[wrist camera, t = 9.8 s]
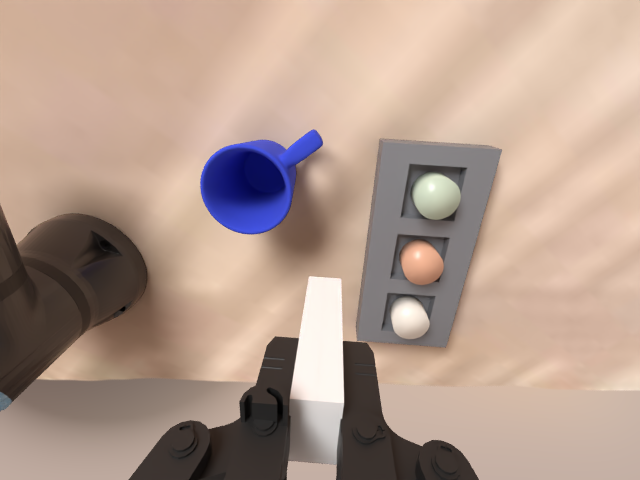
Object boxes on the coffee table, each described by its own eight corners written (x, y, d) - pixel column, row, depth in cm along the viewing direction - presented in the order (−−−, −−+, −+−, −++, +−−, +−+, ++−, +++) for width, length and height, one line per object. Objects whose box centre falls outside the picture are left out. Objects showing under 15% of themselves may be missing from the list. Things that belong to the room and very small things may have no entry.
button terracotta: (396, 270, 39) (400, 283, 37) (402, 238, 38) (407, 249, 35) (432, 273, 39) (439, 286, 36) (439, 240, 37) (447, 251, 35)
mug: (344, 158, 36) (346, 179, 27) (263, 215, 40) (241, 250, 30) (301, 94, 34) (288, 93, 25) (218, 160, 37) (180, 181, 28)
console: (355, 326, 46) (357, 340, 43) (379, 138, 35) (383, 142, 32) (439, 332, 46) (445, 347, 43) (489, 145, 35) (502, 149, 32)
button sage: (407, 209, 36) (412, 218, 33) (414, 170, 34) (420, 176, 31) (446, 211, 36) (455, 221, 33) (455, 173, 34) (465, 179, 31)
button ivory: (387, 322, 43) (390, 337, 40) (392, 294, 41) (395, 309, 38) (420, 324, 43) (425, 340, 40) (426, 297, 41) (432, 311, 38)
